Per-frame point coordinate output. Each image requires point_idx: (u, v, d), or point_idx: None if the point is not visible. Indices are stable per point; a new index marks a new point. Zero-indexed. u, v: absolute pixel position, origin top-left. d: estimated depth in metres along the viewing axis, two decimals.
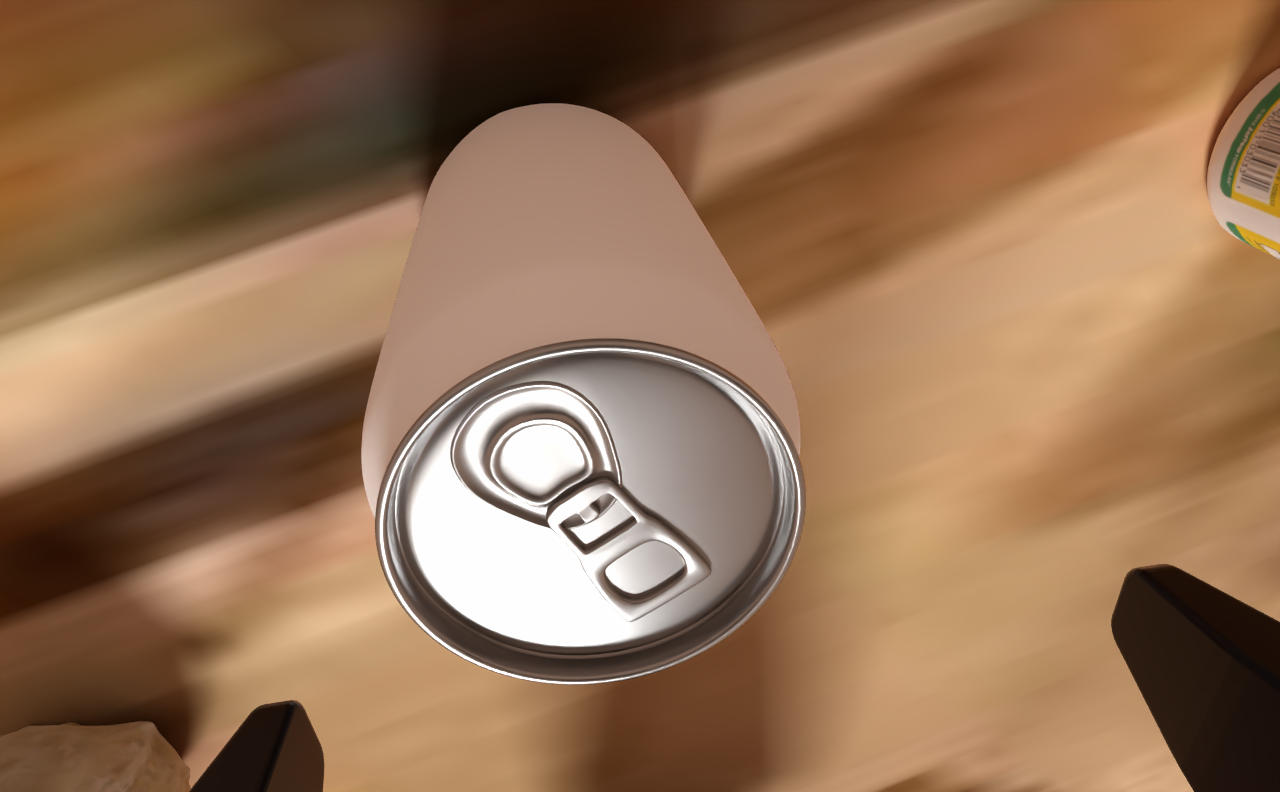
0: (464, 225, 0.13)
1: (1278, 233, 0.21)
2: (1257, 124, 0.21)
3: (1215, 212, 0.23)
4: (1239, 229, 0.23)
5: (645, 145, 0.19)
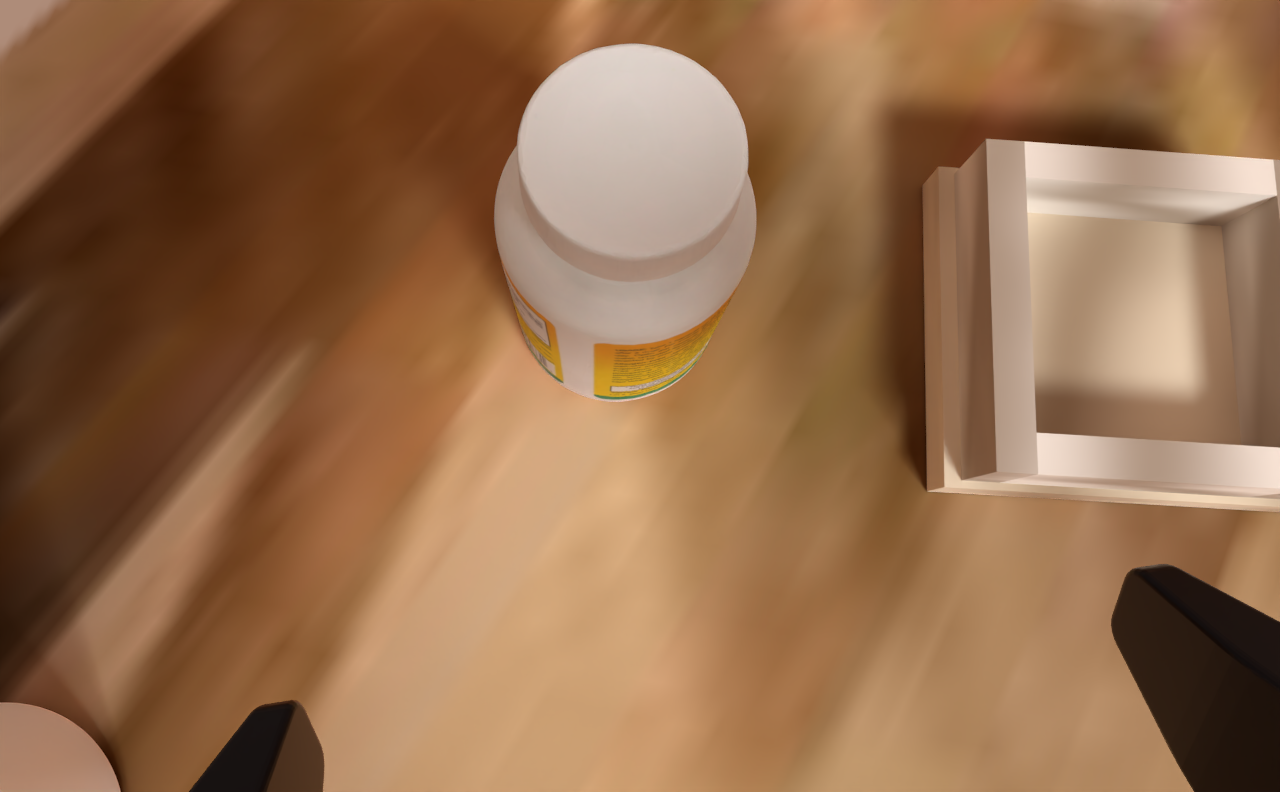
0: None
1: (579, 376, 0.21)
2: None
3: (589, 397, 0.23)
4: (601, 395, 0.22)
5: None
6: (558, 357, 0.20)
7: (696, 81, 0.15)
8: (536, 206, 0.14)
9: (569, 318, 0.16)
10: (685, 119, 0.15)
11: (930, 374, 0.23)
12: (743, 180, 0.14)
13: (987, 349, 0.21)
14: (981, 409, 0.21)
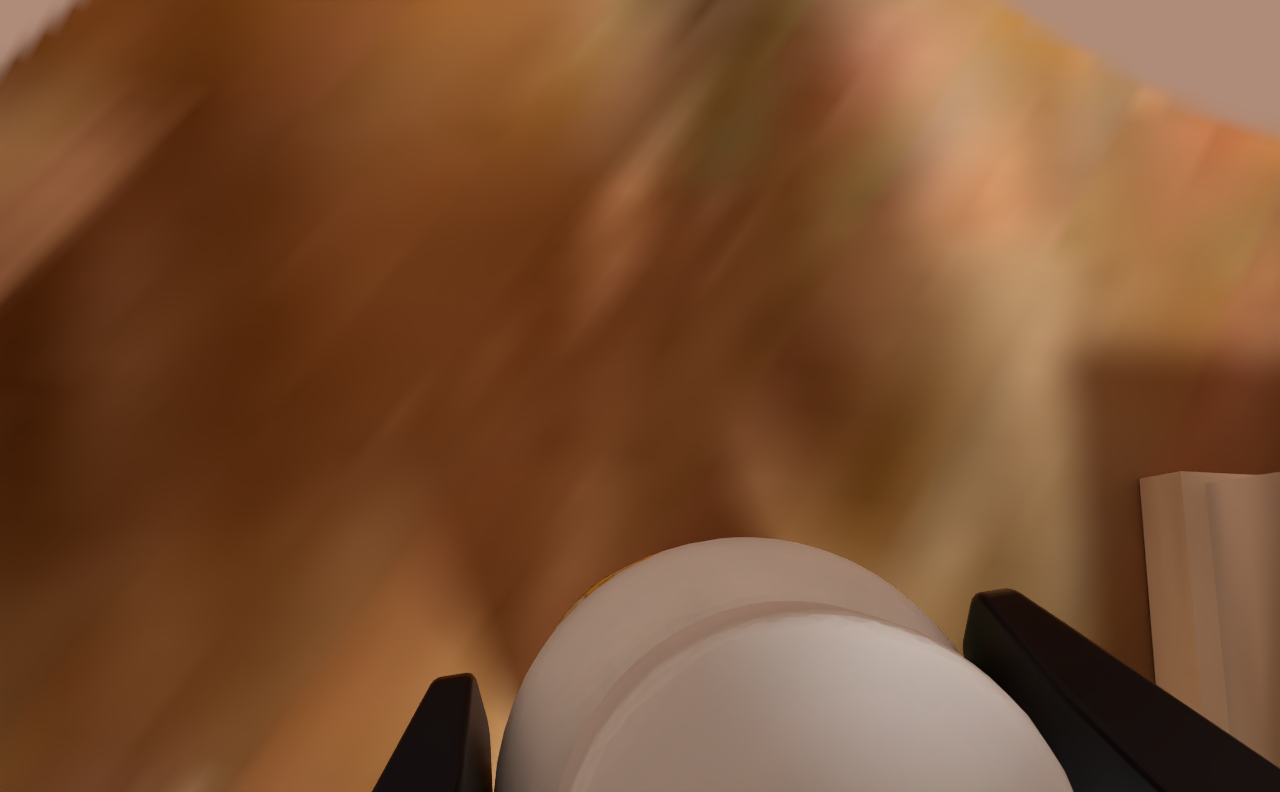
0: None
1: None
2: None
3: None
4: None
5: None
6: None
7: (966, 712, 0.06)
8: None
9: None
10: None
11: None
12: None
13: None
14: None
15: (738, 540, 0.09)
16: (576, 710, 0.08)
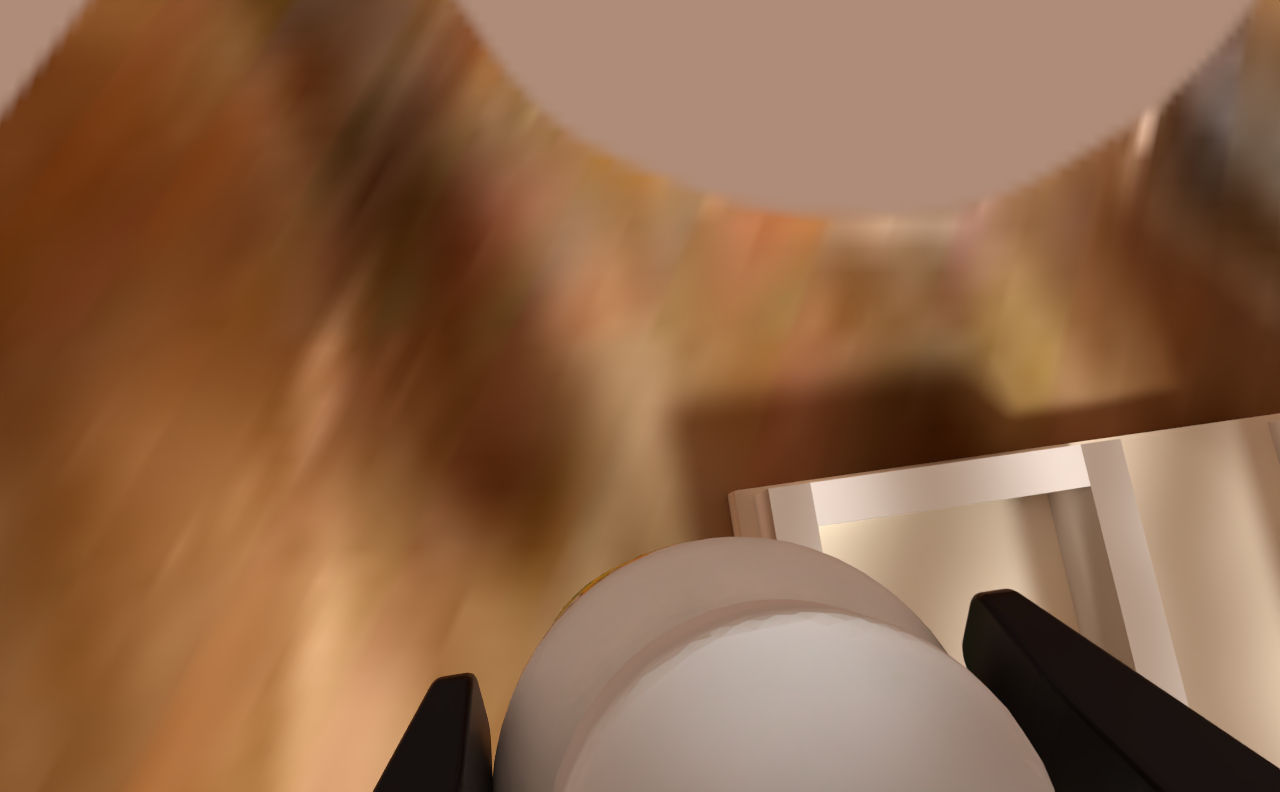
0: None
1: None
2: None
3: None
4: None
5: None
6: None
7: (949, 706, 0.06)
8: None
9: None
10: None
11: None
12: None
13: None
14: None
15: (730, 540, 0.09)
16: (573, 705, 0.08)
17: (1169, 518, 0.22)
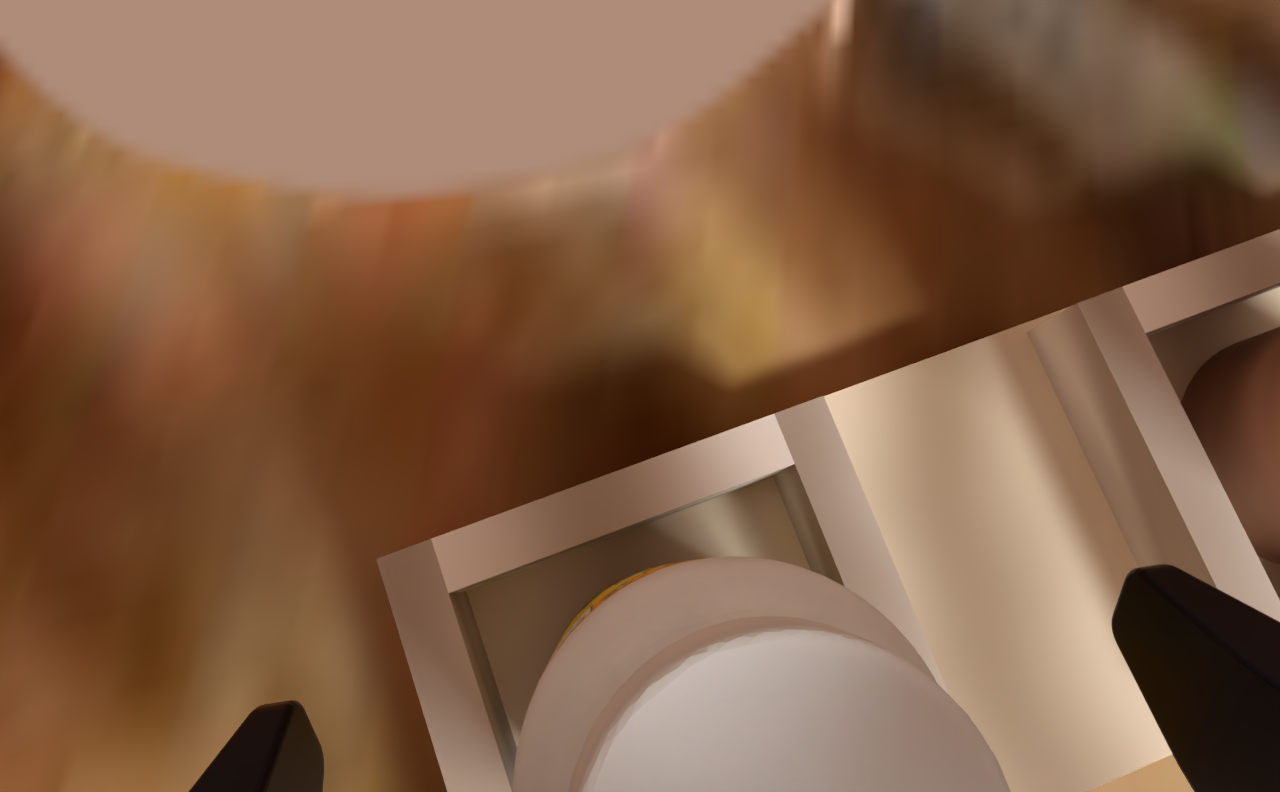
0: None
1: None
2: None
3: None
4: None
5: None
6: None
7: (914, 710, 0.07)
8: None
9: None
10: None
11: None
12: None
13: None
14: None
15: (726, 560, 0.10)
16: (585, 711, 0.09)
17: (927, 474, 0.18)
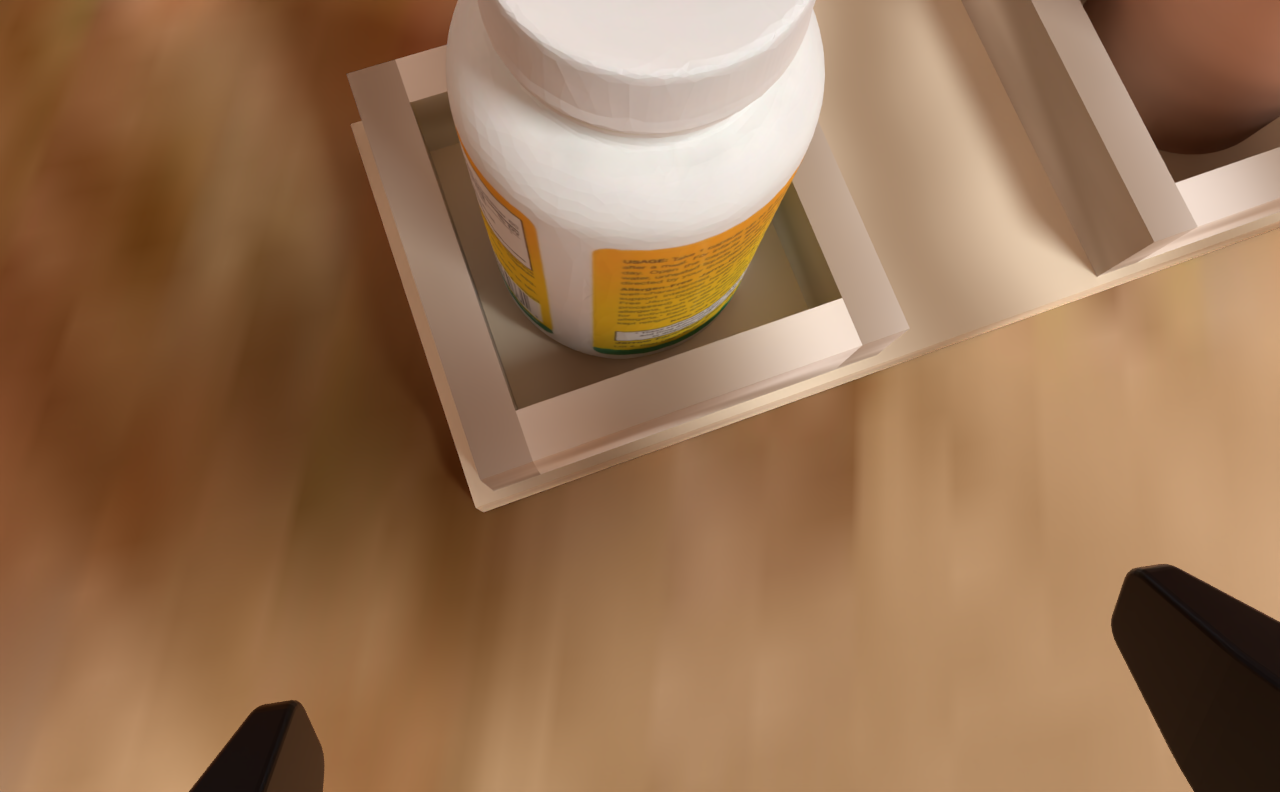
0: None
1: (573, 317, 0.15)
2: (496, 259, 0.17)
3: (587, 353, 0.17)
4: (603, 347, 0.17)
5: None
6: (544, 288, 0.14)
7: None
8: (497, 1, 0.09)
9: (554, 206, 0.11)
10: None
11: None
12: None
13: None
14: None
15: None
16: None
17: (846, 69, 0.20)
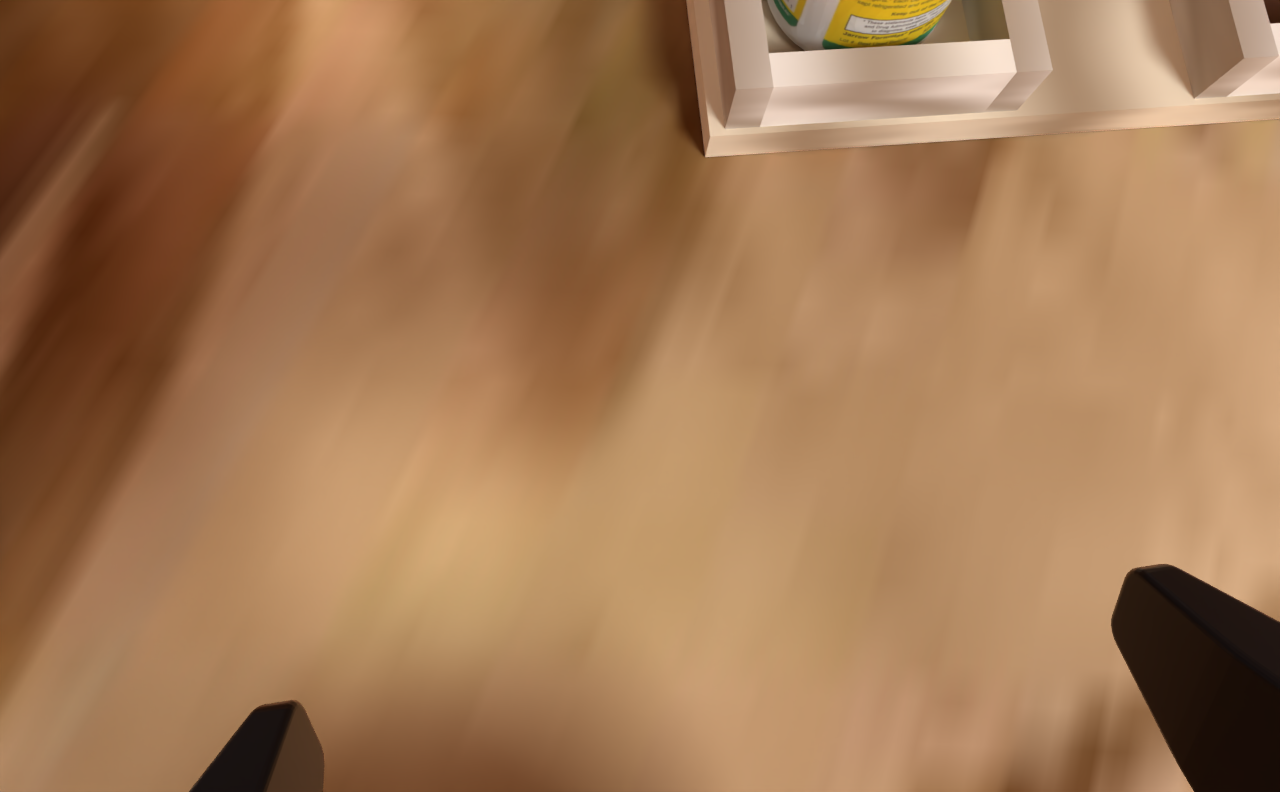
0: None
1: None
2: None
3: None
4: (831, 40, 0.23)
5: None
6: None
7: None
8: None
9: None
10: None
11: (694, 53, 0.26)
12: None
13: None
14: (724, 50, 0.23)
15: None
16: None
17: None
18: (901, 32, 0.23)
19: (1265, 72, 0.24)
